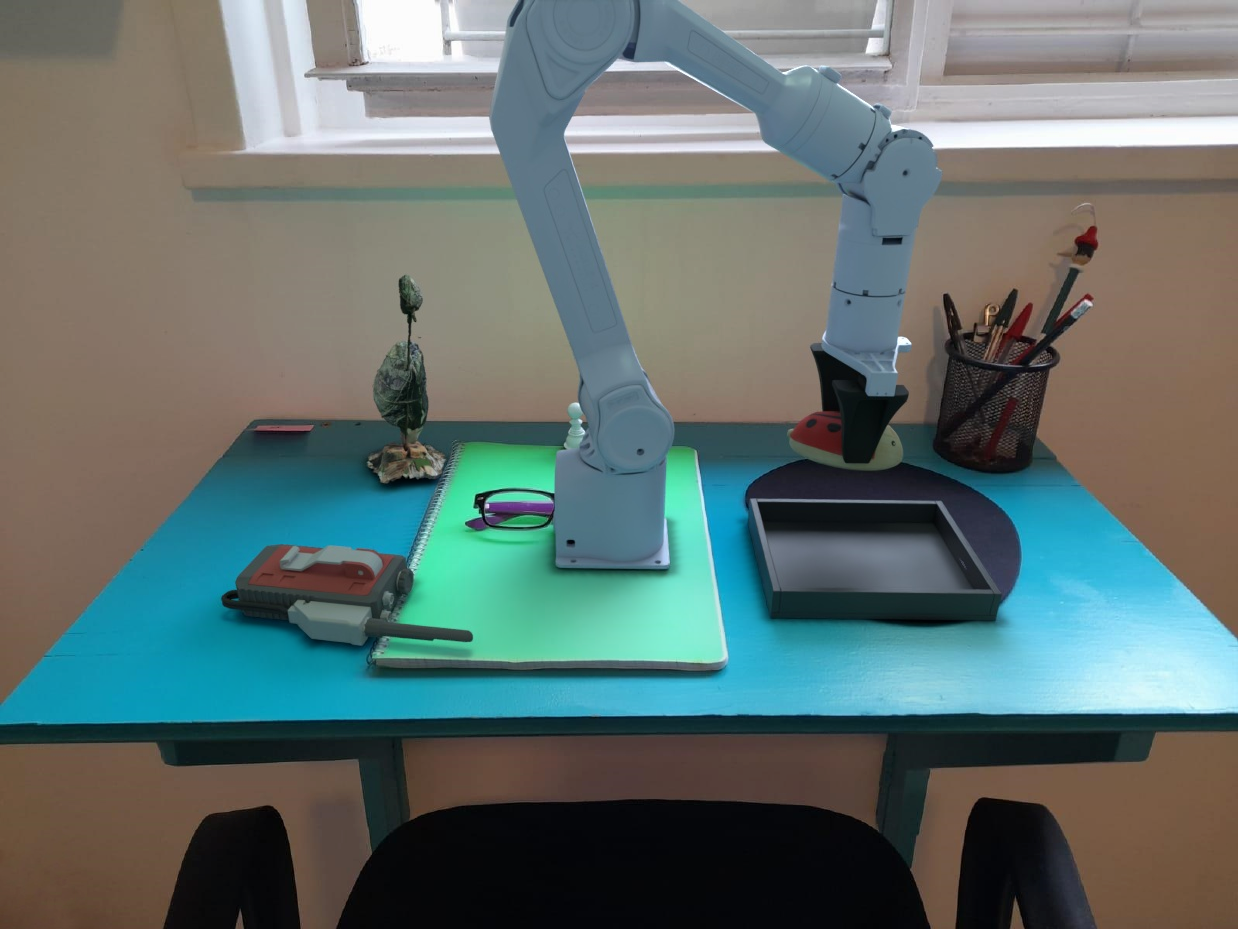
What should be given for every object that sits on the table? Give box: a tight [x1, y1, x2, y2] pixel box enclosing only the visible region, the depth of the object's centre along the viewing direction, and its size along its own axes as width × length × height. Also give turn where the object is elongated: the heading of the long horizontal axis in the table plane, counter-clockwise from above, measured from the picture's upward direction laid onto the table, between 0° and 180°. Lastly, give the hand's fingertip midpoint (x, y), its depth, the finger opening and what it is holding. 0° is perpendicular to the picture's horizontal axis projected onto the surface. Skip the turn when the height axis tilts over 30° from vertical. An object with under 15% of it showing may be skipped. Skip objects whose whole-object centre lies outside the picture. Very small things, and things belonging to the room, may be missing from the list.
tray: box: [747, 498, 1003, 622], centre depth 72 cm, size 17×14×2 cm
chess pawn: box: [563, 402, 586, 450], centre depth 91 cm, size 3×3×5 cm
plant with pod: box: [366, 273, 447, 484], centre depth 84 cm, size 8×11×20 cm
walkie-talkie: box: [220, 543, 474, 647], centre depth 66 cm, size 9×4×20 cm
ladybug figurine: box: [786, 411, 904, 472], centre depth 75 cm, size 7×10×4 cm
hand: (845, 442), depth 75 cm, fingers closed on ladybug figurine, 7 cm apart
